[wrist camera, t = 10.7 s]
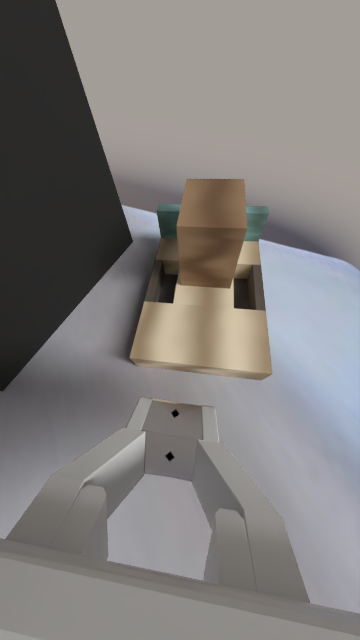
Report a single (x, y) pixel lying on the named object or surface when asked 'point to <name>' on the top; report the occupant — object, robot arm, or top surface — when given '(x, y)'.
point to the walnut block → (211, 231)
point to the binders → (48, 185)
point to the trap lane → (205, 311)
